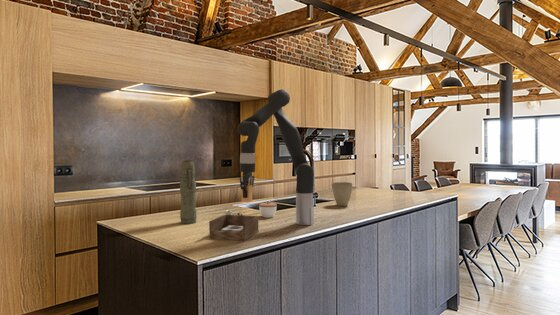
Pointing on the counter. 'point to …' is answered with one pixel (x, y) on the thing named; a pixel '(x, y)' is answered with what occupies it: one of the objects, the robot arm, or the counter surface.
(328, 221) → the counter surface
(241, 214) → the valve
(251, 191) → the orange rectangular block
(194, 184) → the thermos
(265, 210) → the lidded jar
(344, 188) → the plant pot
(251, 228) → the inlet box
